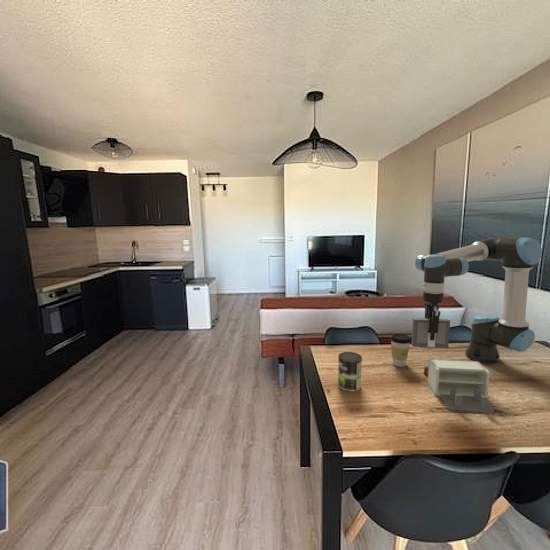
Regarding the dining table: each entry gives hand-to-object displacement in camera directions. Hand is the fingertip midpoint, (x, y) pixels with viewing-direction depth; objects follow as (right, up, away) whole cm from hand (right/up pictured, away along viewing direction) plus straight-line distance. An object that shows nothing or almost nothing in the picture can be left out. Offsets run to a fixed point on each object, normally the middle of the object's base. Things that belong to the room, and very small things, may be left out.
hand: (429, 345), depth 131 cm
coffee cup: (-2, -16, +27) cm, 32 cm away
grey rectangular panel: (0, -1, 0) cm, 1 cm away
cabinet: (+11, -21, -4) cm, 24 cm away
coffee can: (-33, -20, +7) cm, 39 cm away
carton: (+14, -18, +16) cm, 28 cm away
